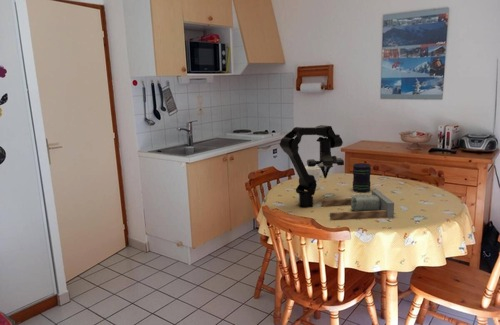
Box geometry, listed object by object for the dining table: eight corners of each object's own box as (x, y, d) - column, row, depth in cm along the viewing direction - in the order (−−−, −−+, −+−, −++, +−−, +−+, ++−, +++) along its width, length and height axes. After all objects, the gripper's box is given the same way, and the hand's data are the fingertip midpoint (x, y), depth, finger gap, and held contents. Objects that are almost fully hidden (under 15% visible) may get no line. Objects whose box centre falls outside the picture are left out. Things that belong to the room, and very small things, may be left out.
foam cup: (321, 190, 223) (321, 169, 221) (305, 191, 224) (305, 169, 221) (318, 186, 233) (318, 165, 230) (303, 186, 233) (303, 166, 230)
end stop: (387, 217, 177) (387, 203, 175) (371, 202, 198) (371, 189, 197) (393, 217, 177) (394, 202, 175) (377, 202, 198) (377, 189, 197)
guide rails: (330, 219, 177) (330, 213, 176) (321, 205, 197) (321, 200, 197) (386, 217, 177) (387, 211, 177) (371, 203, 198) (371, 197, 197)
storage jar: (368, 188, 225) (369, 163, 222) (372, 192, 215) (372, 166, 212) (351, 188, 226) (351, 163, 223) (354, 193, 216) (354, 167, 213)
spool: (349, 207, 182) (354, 188, 184) (347, 210, 191) (352, 191, 193) (378, 216, 179) (383, 195, 181) (375, 218, 188) (380, 199, 190)
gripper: (310, 152, 193) (310, 182, 196) (347, 151, 193) (346, 181, 196) (306, 149, 204) (306, 177, 207) (341, 147, 204) (341, 176, 207)
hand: (325, 178), depth 204 cm, fingers closed
